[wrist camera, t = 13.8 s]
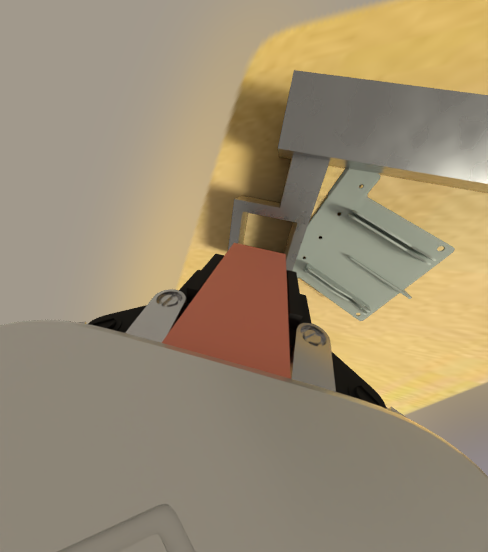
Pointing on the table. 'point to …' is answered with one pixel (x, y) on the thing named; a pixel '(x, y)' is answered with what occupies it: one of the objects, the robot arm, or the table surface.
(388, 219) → the metal bracket
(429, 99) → the grey socket fixture
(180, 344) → the red rectangular block
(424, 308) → the table surface
